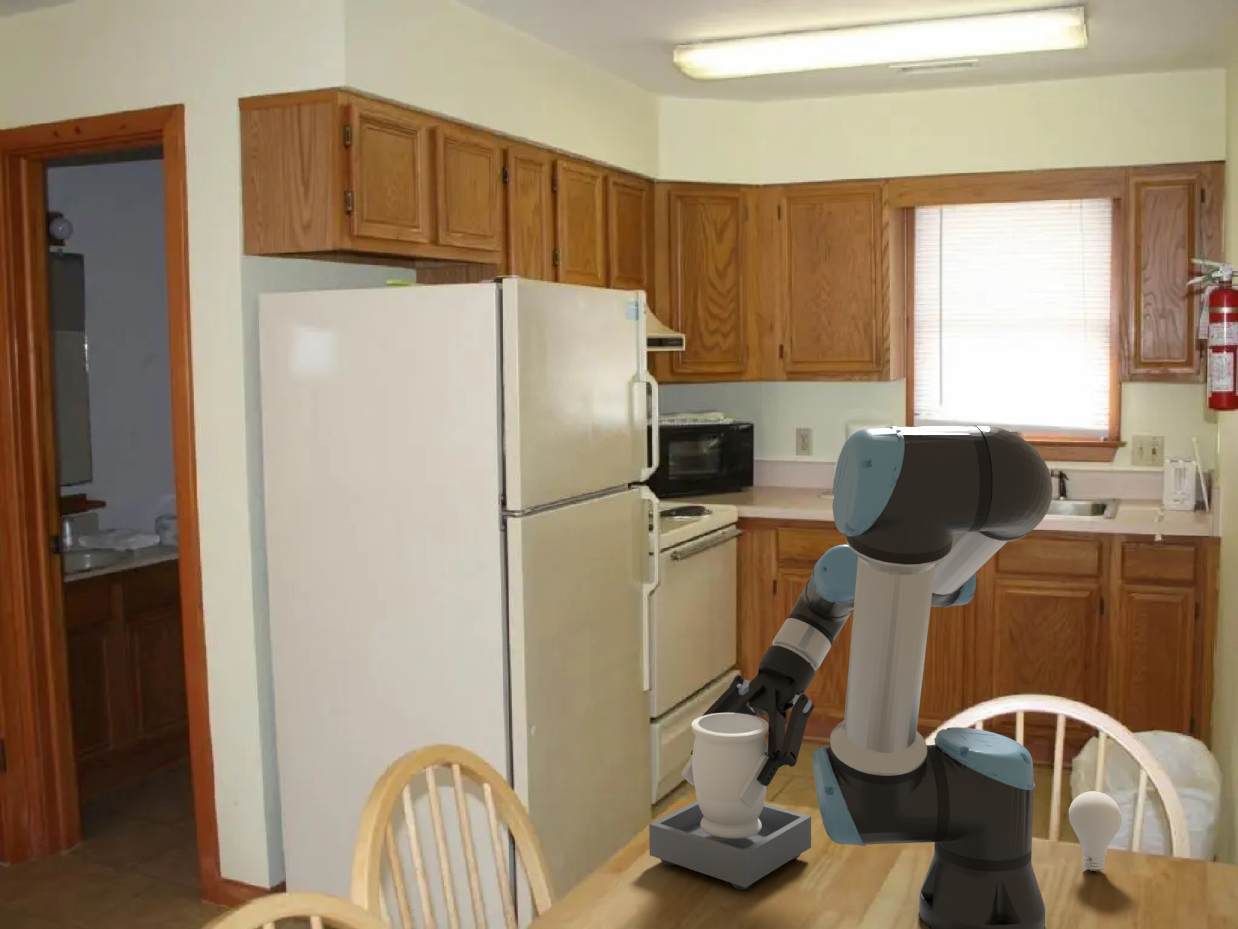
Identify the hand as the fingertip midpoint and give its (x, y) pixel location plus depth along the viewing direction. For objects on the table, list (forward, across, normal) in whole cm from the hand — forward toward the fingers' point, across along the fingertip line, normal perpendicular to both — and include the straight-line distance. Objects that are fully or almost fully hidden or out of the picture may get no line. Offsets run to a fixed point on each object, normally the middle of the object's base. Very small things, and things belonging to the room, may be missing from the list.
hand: (715, 791), depth 172 cm
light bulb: (-19, -35, -34) cm, 52 cm away
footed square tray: (+6, 0, -10) cm, 11 cm away
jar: (+2, 0, -7) cm, 7 cm away
